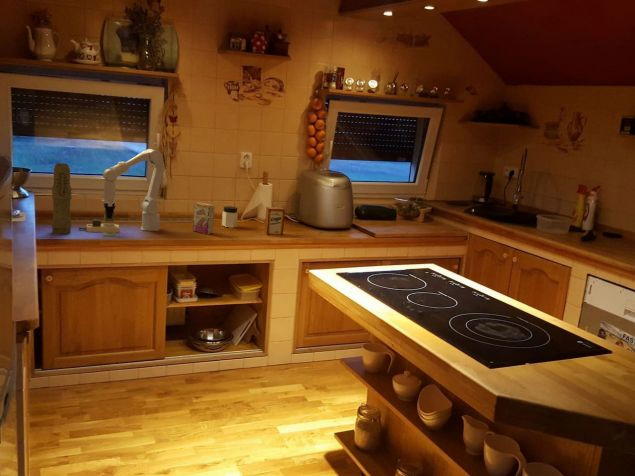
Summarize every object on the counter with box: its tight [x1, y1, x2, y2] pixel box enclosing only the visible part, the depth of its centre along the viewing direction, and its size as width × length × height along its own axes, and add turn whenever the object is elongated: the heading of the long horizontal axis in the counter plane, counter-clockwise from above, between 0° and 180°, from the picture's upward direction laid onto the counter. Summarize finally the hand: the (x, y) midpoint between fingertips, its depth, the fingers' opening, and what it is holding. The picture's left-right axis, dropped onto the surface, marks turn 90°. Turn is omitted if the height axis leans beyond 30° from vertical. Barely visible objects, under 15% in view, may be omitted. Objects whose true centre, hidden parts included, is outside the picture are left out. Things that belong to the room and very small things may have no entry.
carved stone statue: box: [51, 162, 72, 235], centre depth 303 cm, size 9×12×35 cm
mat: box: [101, 232, 118, 237], centre depth 311 cm, size 7×7×1 cm
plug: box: [91, 218, 102, 226], centre depth 317 cm, size 4×4×3 cm
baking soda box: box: [264, 206, 286, 236], centre depth 349 cm, size 10×6×16 cm
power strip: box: [78, 223, 120, 233], centre depth 318 cm, size 20×8×3 cm, turn 111°
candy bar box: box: [192, 201, 215, 235], centre depth 336 cm, size 11×5×16 cm, turn 59°
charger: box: [103, 208, 115, 223], centre depth 318 cm, size 4×4×6 cm
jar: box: [221, 205, 239, 228], centre depth 359 cm, size 9×8×12 cm
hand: (109, 217), depth 319 cm, fingers closed on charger, 4 cm apart
